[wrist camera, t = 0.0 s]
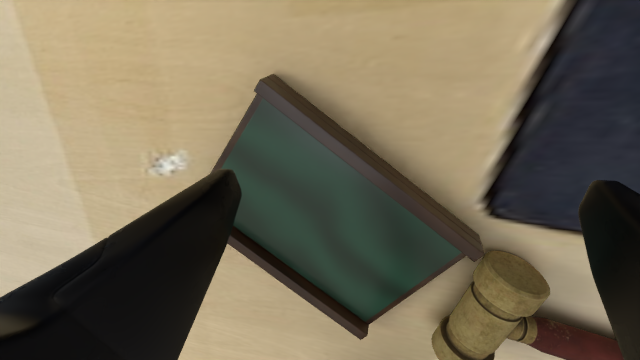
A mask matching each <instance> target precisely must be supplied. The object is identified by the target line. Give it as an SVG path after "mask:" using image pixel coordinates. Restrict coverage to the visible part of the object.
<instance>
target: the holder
mask: <svg viewBox="0 0 640 360" xmlns="http://www.w3.org/2000/svg"><path fill="white" fill-rule="evenodd" d="M254 91H255V92H256V93H257V95H256V96H255V98H254V100H253V101H252V103H251V105H250V107H249V108H248V110H247V112H246V113H245V115H244V117H243V119H242V120H241V122H240V124H239V125H238V127H237V129H236V131H235V132H234V134H233V136H232V137H231V139H230V141H229V143H228V144H227V146H226V148H225V149H224V151H223V153H222V155H221V156H220V158H219V160H218V161H217V163H216V165H215V167H214V168H213V170H212V172H211V173H213V172H214V171H216V170H218V169H231V170H233V171H234V172H235V175H236V177H237V180H238V182H239V185H240V187H241V191H242V197H241V201H240V204H239V207H238V211H237V214H236V217H235V221H234V224H233V227H232V230H231V234H230V237H229V240H228V242H227V243H228V244H229V245H230V246H232V247H233V248H235V249H236V250H237V251H239V252H240V253H241V254H243V255H244V256H246V257H247V258H248V259H250V260H251V261H252V262H254V263H255V264H257V265H258V266H259V267H261V268H262V269H264V270H265V271H266V272H268V273H269V274H270V275H272V276H273V277H275V278H276V279H277V280H279V281H280V282H281V283H283V284H284V285H286V286H287V287H288V288H290V289H291V290H293V291H294V292H295V293H297V294H298V295H299V296H301V297H302V298H304V299H305V300H306V301H308V302H309V303H311V304H312V305H313V306H315V307H316V308H317V309H319V310H320V311H322V312H323V313H324V314H326V315H327V316H328V317H330V318H331V319H333V320H334V321H335V322H337V323H338V324H340V325H341V326H342V327H344V328H345V329H346V330H348V331H349V332H351V333H352V334H353V335H355V336H356V337H357V338H359V339H360V340H361V339H363V338H364V337H366V336H367V334H368V327H369V324H370V323H372V322H373V321H375V320H376V319H377V318H379V317H380V316H382V315H383V314H385V313H386V312H387V311H389V310H390V309H392V308H393V307H394V306H396V305H397V304H399V303H400V302H401V301H403V300H404V299H406V298H407V297H409V296H410V295H411V294H413V293H414V292H416V291H417V290H418V289H420V288H421V287H423V286H424V285H426V284H427V283H428V282H430V281H431V280H433V279H434V278H435V277H437V276H438V275H440V274H441V273H443V272H444V271H445V270H447V269H448V268H450V267H451V266H452V265H454V264H455V263H457V262H458V261H459V260H461V259H462V258H464V257H465V256H467V257H469V258H470V259H471V260H472V261H474V262H475V261H477V260H478V259H479V258H481V257H482V256H484V255H485V254H484V250H483V247H482V243H481V240H480V236H479V235H478V234H477V233H475V232H474V231H473V230H471V229H470V228H469V227H468V226H466V225H465V224H464V223H463V222H461V221H460V220H459V219H457V218H456V217H455V216H454V215H452V214H451V213H450V212H449V211H447V210H446V209H445V208H443V207H442V206H441V205H440V204H438V203H437V202H436V201H435V200H433V199H432V198H431V197H429V196H428V195H427V194H426V193H424V192H423V191H422V190H421V189H419V188H418V187H417V186H415V185H414V184H413V183H412V182H410V181H409V180H408V179H407V178H405V177H404V176H403V175H401V174H400V173H399V172H398V171H396V170H395V169H394V168H393V167H391V166H390V165H389V164H387V163H386V162H385V161H384V160H382V159H381V158H380V157H379V156H377V155H376V154H375V153H373V152H372V151H371V150H370V149H368V148H367V147H366V146H365V145H363V144H362V143H361V142H359V141H358V140H357V139H356V138H354V137H353V136H352V135H351V134H349V133H348V132H347V131H345V130H344V129H343V128H342V127H340V126H339V125H338V124H336V123H335V122H334V121H333V120H331V119H330V118H329V117H328V116H326V115H325V114H324V113H322V112H321V111H320V110H319V109H317V108H316V107H315V106H314V105H312V104H311V103H310V102H308V101H307V100H306V99H305V98H303V97H302V96H301V95H300V94H298V93H297V92H296V91H294V90H293V89H292V88H291V87H289V86H288V85H287V84H286V83H284V82H283V81H282V80H280V79H279V78H278V77H277V76H275V75H274V74H272V75H270V76H267V77H265V78H263V79H261V80H260V81H259V82H258V84H257V86H256V88H255V89H254ZM211 173H210V174H211Z"/></svg>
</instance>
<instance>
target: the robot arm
mask: <svg viewBox="0 0 640 360" xmlns="http://www.w3.org/2000/svg"><path fill="white" fill-rule="evenodd" d="M241 197H242V191H241V187H240V185H239V182H238V180H237V177H236V175H235V172H234V171H233V170H231V169H218V170H216V171H214V172H213V173H211V174H210V175H208V176H206V177H205V178H203V179H201V180H200V181H198V182H196V183H195V184H193V185H192V186H190V187H188V188H187V189H185V190H183V191H182V192H180V193H178V194H177V195H175V196H174V197H172V198H170V199H169V200H167V201H165V202H164V203H162V204H161V205H159V206H157V207H156V208H154V209H152V210H151V211H149V212H147V213H146V214H144V215H143V216H141V217H139V218H138V219H136V220H134V221H133V222H131V223H129V224H128V225H126V226H125V227H123V228H121V229H120V230H118V231H116V232H115V233H113V234H111V235H110V236H109V237H108V238H105V239H103V240H102V241H100V242H98V243H97V244H95V245H93V246H92V247H90V248H88V249H87V250H85V251H83V252H82V253H80V254H78V255H77V256H75V257H73V258H71V259H70V260H68V261H66V262H64V263H62V264H61V265H59V266H57V267H55V268H53V269H52V270H50V271H48V272H46V273H44V274H42V275H41V276H39V277H37V278H35V279H33V280H31V281H30V282H28V283H26V284H24V285H22V286H20V287H19V288H17V289H15V290H13V291H11V292H9V293H7V294H6V295H4V296H2V297H0V360H178V358H179V355H180V353H181V351H182V348H183V346H184V343H185V341H186V339H187V336H188V334H189V332H190V329H191V327H192V325H193V322H194V320H195V318H196V315H197V313H198V311H199V308H200V306H201V304H202V301H203V299H204V297H205V294H206V292H207V290H208V287H209V285H210V283H211V280H212V278H213V276H214V273H215V271H216V269H217V266H218V264H219V262H220V259H221V257H222V254H223V252H224V250H225V247H226V245H227V242H228V240H229V237H230V234H231V230H232V227H233V224H234V221H235V217H236V214H237V211H238V207H239V204H240V201H241ZM578 213H579V220H580V224H581V228H582V233H583V237H584V241H585V246H586V250H587V254H588V259H589V263H590V267H591V271H592V275H593V278H594V281H595V284H596V286H597V289H598V292H599V294H600V297H601V300H602V302H603V305H604V308H605V310H606V313H607V316H608V318H609V321H610V324H611V326H612V329H613V332H614V334H615V337H616V340H617V342H618V345H619V348H620V350H621V353H622V356H623V358H624V360H640V194H638V193H637V192H635V191H633V190H631V189H630V188H628V187H626V186H625V185H623V184H621V183H620V182H617V181H607V180H596V181H594V182H592V183H591V185H590V186H589V188H588V190H587V192H586V194H585V196H584V198H583V200H582V202H581V204H580V206H579V212H578Z"/></svg>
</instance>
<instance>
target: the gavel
mask: <svg viewBox="0 0 640 360" xmlns="http://www.w3.org/2000/svg"><path fill="white" fill-rule="evenodd" d="M473 279H474V281H473V282H472V284H471V285H470V287H469V288H468V290H467V291H466V293H465V294H464V296H463V297H462V299H461V300H460V302H459V303H458V305H457V306H456V308H455V309H454V311H453V312H452V314H451V315H450V316H447V317H445V318H444V319H443V320H442V321H441V323H440V324H439V326H438V327H437V329H436V330H435V332H434V334H433V336H432V346H433V349H434V352H435V354H436V355H437V357H438V359H439V360H494V357H495V351H496V349H497V348H498V347H499V346H500V345H501V344H502V342H503V341H504V340H505V339H506V338H508V339H511V340H516V341H518V342H522V343H525V344H527V345H529V346H531V347H533V348H535V349H537V350H539V351H541V352H544V353H547V354H550V355H553V356H556V357H559V358H563V359H566V360H624V358H623V356H622V353H621V350H620V348H619V345H618V342H617V341H616V340H613V339H610V338H607V337H604V336H600V335H597V334H594V333H591V332H588V331H585V330H581V329H578V328H575V327H572V326H569V325H565V324H562V323H559V322H556V321H553V320H550V319H546V318H540V317H533V316H531V315H533V314H534V313H535V312H536V311H537V309H538V308H539V307H540V306H541V305H542V304H543V302H544V301H545V300H546V299H547V298H548V296H549V295H550V288H549V285H548V283H547V282H546V280H545V279H544V277H543V276H542V275H541V274H540V273H539V272H538V271H537V270H536V269H535V268H534V267H533V266H532V265H530V264H529V263H527V262H526V261H524V260H523V259H521V258H519V257H517V256H515V255H512V254H510V253H506V252H502V251H490V252H488V253H486V254H485V256H484V257H483V259H482V260H481V262H480V263H479V265H478V266H477V268H476V269H475V271H474V273H473Z"/></svg>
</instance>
